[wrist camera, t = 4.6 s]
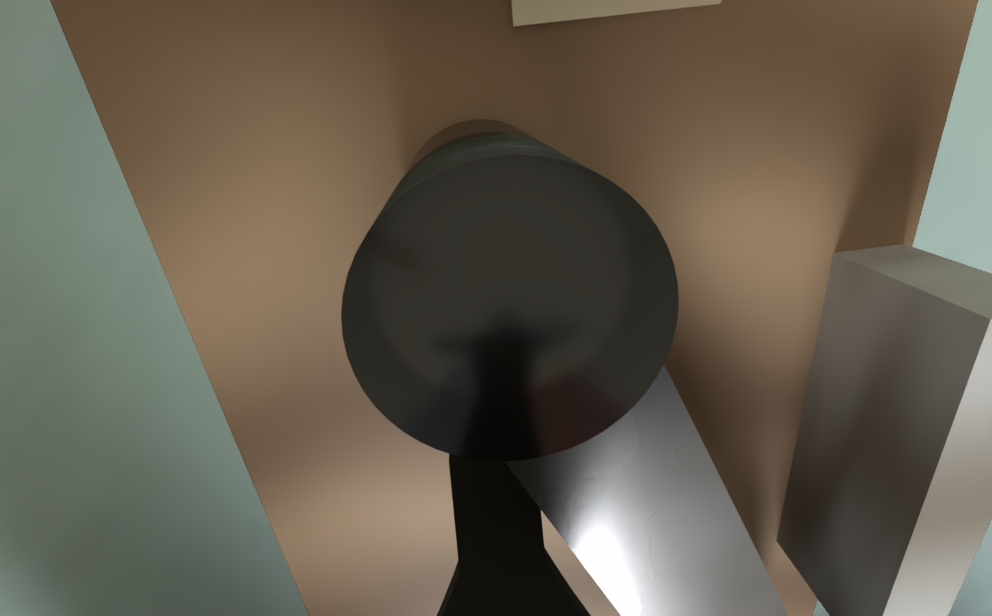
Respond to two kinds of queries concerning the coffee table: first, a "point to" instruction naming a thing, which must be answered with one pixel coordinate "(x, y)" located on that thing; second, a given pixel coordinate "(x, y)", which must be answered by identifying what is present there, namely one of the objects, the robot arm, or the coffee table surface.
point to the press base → (653, 184)
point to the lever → (550, 362)
